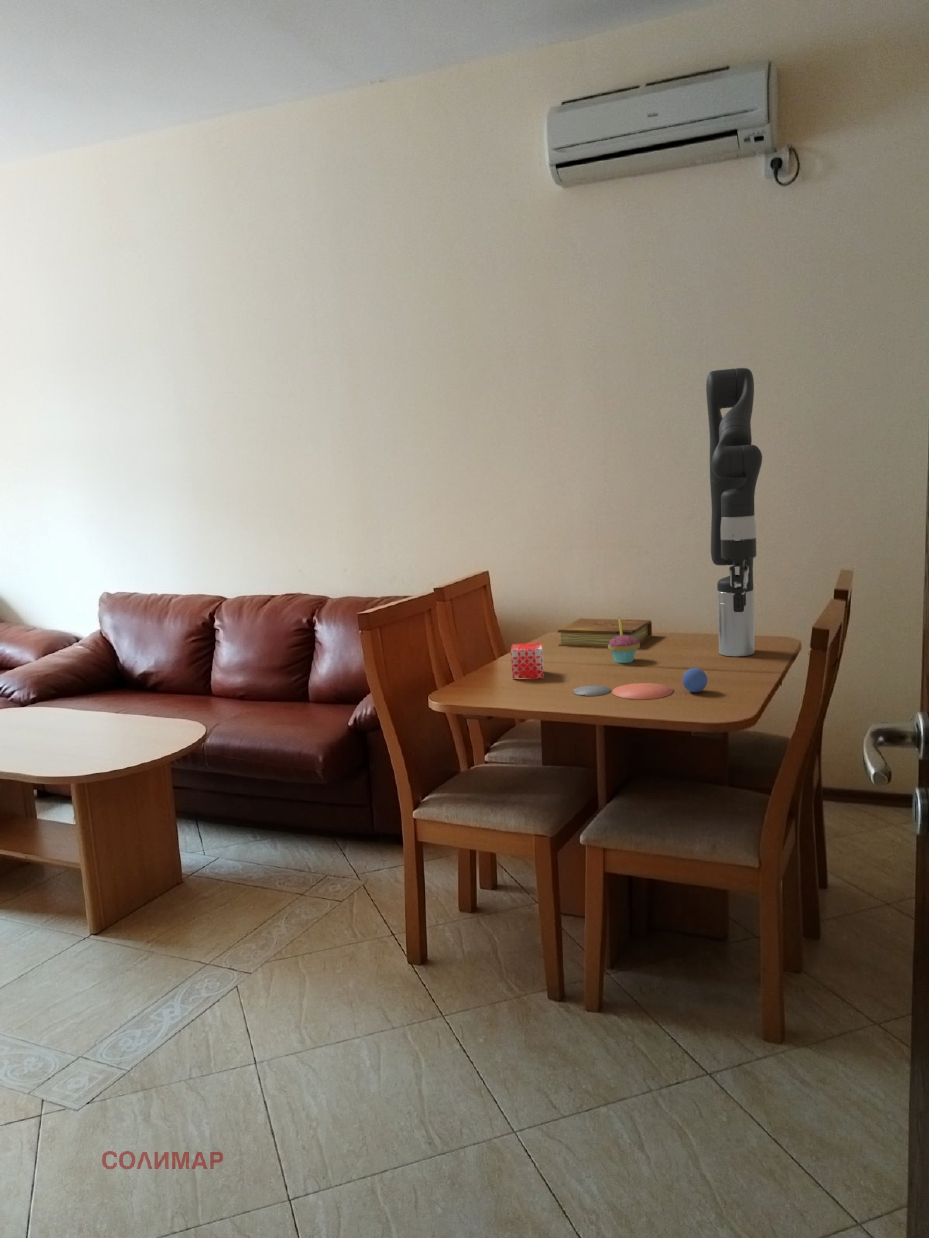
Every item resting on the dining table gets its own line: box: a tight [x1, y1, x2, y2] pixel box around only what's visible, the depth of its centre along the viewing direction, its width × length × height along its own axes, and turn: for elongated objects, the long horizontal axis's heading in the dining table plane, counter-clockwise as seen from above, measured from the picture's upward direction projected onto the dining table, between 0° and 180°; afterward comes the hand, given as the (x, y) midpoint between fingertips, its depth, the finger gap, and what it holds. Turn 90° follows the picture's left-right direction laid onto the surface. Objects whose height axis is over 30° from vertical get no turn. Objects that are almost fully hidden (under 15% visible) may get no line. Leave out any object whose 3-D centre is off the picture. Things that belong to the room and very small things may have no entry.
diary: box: [557, 618, 653, 649], centre depth 264 cm, size 23×19×6 cm
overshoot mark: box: [572, 685, 612, 697], centre depth 209 cm, size 9×9×1 cm
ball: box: [681, 667, 708, 693], centre depth 201 cm, size 6×6×6 cm
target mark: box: [611, 682, 674, 701], centre depth 205 cm, size 14×14×1 cm
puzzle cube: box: [510, 642, 545, 679], centre depth 228 cm, size 8×8×8 cm
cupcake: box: [607, 616, 641, 664], centre depth 236 cm, size 9×8×12 cm
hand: (739, 609), depth 196 cm, fingers open, 8 cm apart
